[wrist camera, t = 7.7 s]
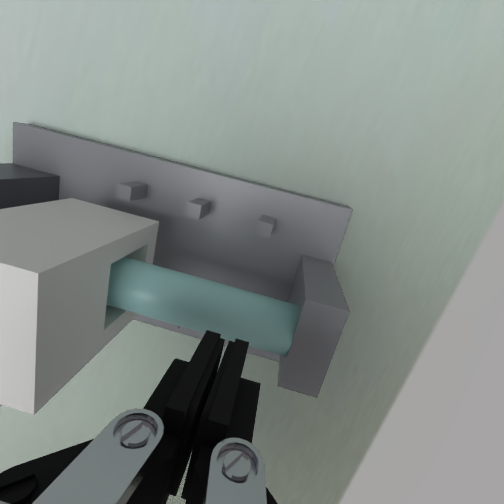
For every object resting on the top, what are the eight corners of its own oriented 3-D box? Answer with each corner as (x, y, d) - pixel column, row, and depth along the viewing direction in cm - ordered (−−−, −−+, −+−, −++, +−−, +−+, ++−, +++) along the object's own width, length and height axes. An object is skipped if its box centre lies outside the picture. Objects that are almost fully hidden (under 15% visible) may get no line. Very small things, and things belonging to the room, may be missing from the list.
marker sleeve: (159, 221, 17) (38, 273, 9) (146, 306, 18) (33, 415, 10) (72, 197, 17) (-120, 228, 9) (66, 283, 18) (-102, 371, 11)
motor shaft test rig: (348, 207, 19) (399, 246, 10) (298, 356, 22) (301, 489, 13) (29, 124, 20) (-187, 92, 11) (26, 278, 23) (-143, 350, 14)
